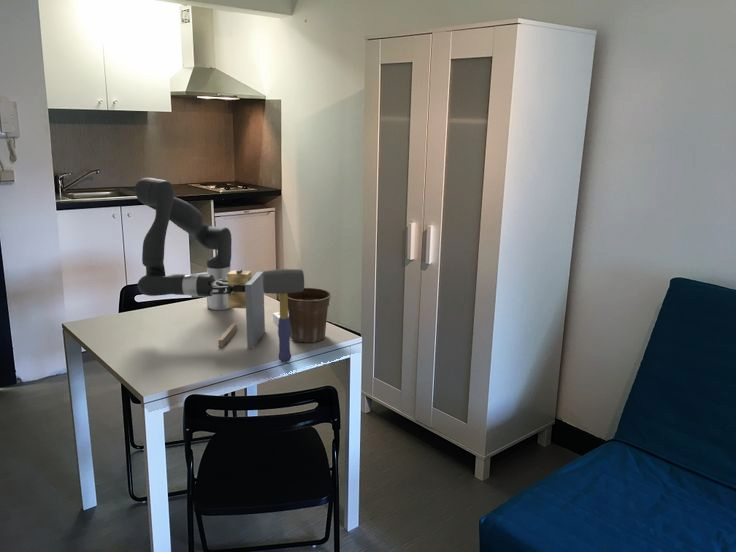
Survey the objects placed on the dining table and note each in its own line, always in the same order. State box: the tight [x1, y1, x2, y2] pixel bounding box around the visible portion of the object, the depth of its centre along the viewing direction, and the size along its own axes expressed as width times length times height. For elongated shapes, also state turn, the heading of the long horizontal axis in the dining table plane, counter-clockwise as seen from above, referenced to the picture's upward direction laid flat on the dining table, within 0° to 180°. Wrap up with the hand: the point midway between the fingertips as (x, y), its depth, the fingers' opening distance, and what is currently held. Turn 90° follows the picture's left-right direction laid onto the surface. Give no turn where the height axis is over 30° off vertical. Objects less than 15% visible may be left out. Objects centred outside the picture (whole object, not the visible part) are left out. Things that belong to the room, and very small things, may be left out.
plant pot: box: [288, 287, 332, 344], centre depth 210 cm, size 16×16×16 cm
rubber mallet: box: [262, 268, 305, 364], centre depth 187 cm, size 12×8×30 cm, turn 104°
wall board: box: [217, 271, 266, 349], centre depth 208 cm, size 12×18×22 cm, turn 177°
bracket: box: [272, 311, 289, 326], centre depth 225 cm, size 13×7×8 cm, turn 27°
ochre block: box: [227, 268, 253, 309], centre depth 206 cm, size 7×5×13 cm
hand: (247, 286), depth 206 cm, fingers closed on ochre block, 5 cm apart
